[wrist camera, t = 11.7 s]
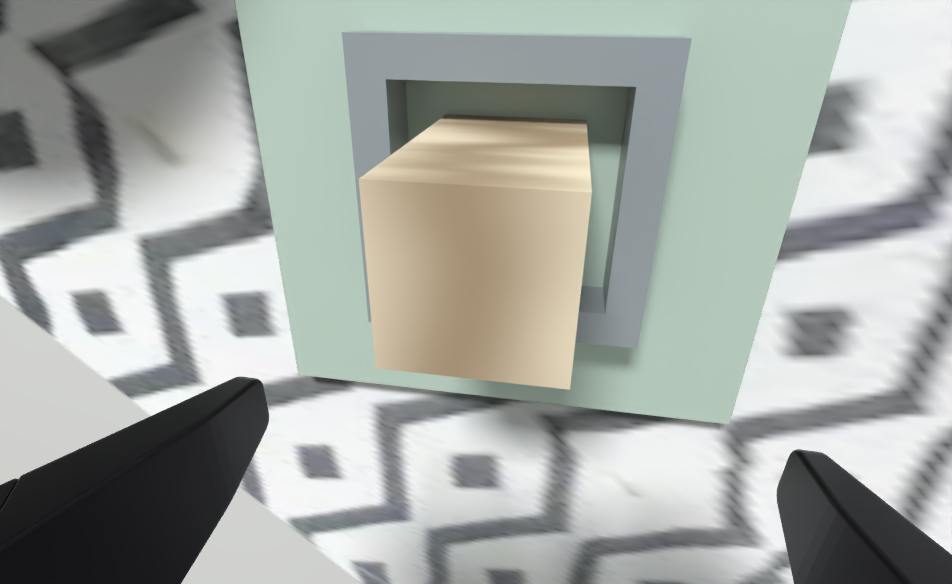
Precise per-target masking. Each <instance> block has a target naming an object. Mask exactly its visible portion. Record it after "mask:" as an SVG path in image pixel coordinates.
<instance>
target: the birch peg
mask: <svg viewBox="0 0 952 584" xmlns="http://www.w3.org/2000/svg"><path fill="white" fill-rule="evenodd" d="M359 189H360V200H361V211H362V222H363V233H364V244H365V255H366V266H367V277H368V288H369V299H370V311H371V322H372V333H373V344H374V355H375V366H376V368H378V369H387V370H396V371H405V372H414V373H423V374H432V375H441V376H450V377H459V378H468V379H477V380H487V381H496V382H505V383H514V384H523V385H532V386H541V387H550V388H559V389H568V390H570V385H571V376H572V367H573V358H574V349H575V340H576V331H577V322H578V313H579V304H580V296H581V287H582V278H583V269H584V260H585V251H586V242H587V233H588V224H589V215H590V206H591V197H592V186H591V173H590V160H589V147H588V134H587V121H586V120H581V119H555V118H529V117H504V116H478V115H452V114H446V115H445V116H443V117H442V118H441V119H439V120H438V121H437V122H435V123H434V124H433V125H431V126H430V127H429V128H427V129H426V130H424V131H423V132H422V133H420V134H419V135H418V136H416V137H415V138H414V139H412V140H411V141H409V142H408V143H407V144H405V145H404V146H403V147H401V148H400V149H399V150H397V151H396V152H394V153H393V154H392V155H390V156H389V157H388V158H386V159H385V160H384V161H382V162H381V163H380V164H378V165H377V166H375V167H374V168H373V169H371V170H370V171H369V172H367V173H366V174H365V175H363V176H362V177H360V178H359Z"/></svg>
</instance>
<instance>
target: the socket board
mask: <svg viewBox="0 0 952 584" xmlns="http://www.w3.org/2000/svg"><path fill="white" fill-rule="evenodd" d="M851 2H852V0H235V5H236V10H237V16H238V22H239V28H240V34H241V40H242V46H243V52H244V57H245V63H246V69H247V75H248V81H249V87H250V93H251V99H252V104H253V110H254V116H255V122H256V128H257V134H258V140H259V146H260V152H261V157H262V163H263V169H264V175H265V181H266V187H267V193H268V199H269V204H270V210H271V216H272V222H273V228H274V234H275V240H276V246H277V251H278V257H279V263H280V269H281V275H282V281H283V287H284V293H285V299H286V304H287V310H288V316H289V322H290V328H291V334H292V340H293V346H294V351H295V357H296V363H297V369H298V375H305V376H314V377H323V378H331V379H340V380H349V381H357V382H366V383H375V384H383V385H392V386H401V387H409V388H418V389H427V390H435V391H444V392H453V393H461V394H470V395H479V396H487V397H496V398H505V399H513V400H522V401H531V402H539V403H548V404H557V405H565V406H574V407H583V408H592V409H600V410H609V411H618V412H626V413H635V414H644V415H652V416H661V417H670V418H678V419H687V420H696V421H704V422H713V423H722V424H729V423H730V419H731V416H732V412H733V409H734V405H735V402H736V398H737V395H738V392H739V388H740V385H741V381H742V378H743V374H744V371H745V367H746V364H747V361H748V357H749V354H750V350H751V347H752V343H753V340H754V336H755V333H756V330H757V326H758V323H759V319H760V316H761V312H762V309H763V305H764V302H765V299H766V295H767V292H768V288H769V285H770V281H771V278H772V274H773V271H774V267H775V264H776V261H777V257H778V254H779V250H780V247H781V243H782V240H783V236H784V233H785V230H786V226H787V223H788V219H789V216H790V212H791V209H792V205H793V202H794V199H795V195H796V192H797V188H798V185H799V181H800V178H801V174H802V171H803V168H804V164H805V161H806V157H807V154H808V150H809V147H810V143H811V140H812V137H813V133H814V130H815V126H816V123H817V119H818V116H819V112H820V109H821V106H822V102H823V99H824V95H825V92H826V88H827V85H828V81H829V78H830V74H831V71H832V68H833V64H834V61H835V57H836V54H837V50H838V47H839V43H840V40H841V37H842V33H843V30H844V26H845V23H846V19H847V16H848V12H849V9H850V6H851ZM446 114H452V115H478V116H504V117H529V118H555V119H581V120H586V121H587V134H588V147H589V160H590V173H591V186H592V197H591V206H590V215H589V224H588V233H587V242H586V251H585V260H584V269H583V278H582V287H581V296H580V304H579V313H578V322H577V331H576V340H575V349H574V358H573V367H572V376H571V385H570V390H568V389H559V388H550V387H541V386H532V385H523V384H514V383H505V382H496V381H487V380H477V379H468V378H459V377H450V376H441V375H432V374H423V373H414V372H405V371H396V370H387V369H378V368H376V366H375V355H374V344H373V333H372V322H371V311H370V299H369V288H368V277H367V266H366V255H365V244H364V233H363V222H362V211H361V200H360V189H359V178H360V177H362V176H363V175H365V174H366V173H367V172H369V171H370V170H371V169H373V168H374V167H375V166H377V165H378V164H380V163H381V162H382V161H384V160H385V159H386V158H388V157H389V156H390V155H392V154H393V153H394V152H396V151H397V150H399V149H400V148H401V147H403V146H404V145H405V144H407V143H408V142H409V141H411V140H412V139H414V138H415V137H416V136H418V135H419V134H420V133H422V132H423V131H424V130H426V129H427V128H429V127H430V126H431V125H433V124H434V123H435V122H437V121H438V120H439V119H441V118H442V117H443V116H445V115H446Z"/></svg>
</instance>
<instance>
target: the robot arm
mask: <svg viewBox="0 0 952 584" xmlns="http://www.w3.org/2000/svg"><path fill="white" fill-rule="evenodd" d="M268 422H269V412H268V407H267V402H266V397H265V392H264V387H263V384H262V382H261V381H260V380H258V379H255V378H248V377H236V378H233V379H231V380H229V381H227V382H225V383H222V384H220V385H218V386H216V387H214V388H212V389H209V390H207V391H205V392H203V393H201V394H198V395H196V396H194V397H192V398H190V399H187V400H185V401H183V402H181V403H179V404H177V405H174V406H172V407H170V408H168V409H166V410H163V411H161V412H159V413H157V414H155V415H153V416H150V417H148V418H146V419H144V420H142V421H139V422H137V423H135V424H133V425H131V426H129V427H126V428H124V429H122V430H120V431H118V432H116V433H113V434H111V435H109V436H107V437H105V438H102V439H100V440H98V441H96V442H94V443H91V444H89V445H87V446H85V447H83V448H81V449H78V450H76V451H74V452H72V453H70V454H67V455H65V456H63V457H61V458H59V459H57V460H54V461H52V462H50V463H48V464H46V465H43V466H41V467H39V468H37V469H35V470H33V471H31V472H28V473H26V474H24V475H22V476H21V477H20V478H19V479H13V480H10V481H8V482H6V483H4V484H2V485H0V584H181V583H182V581H183V579H184V578H185V576H186V574H187V573H188V571H189V570H190V568H191V566H192V565H193V563H194V561H195V560H196V558H197V557H198V555H199V553H200V552H201V550H202V548H203V547H204V545H205V543H206V542H207V540H208V539H209V537H210V535H211V534H212V532H213V530H214V529H215V527H216V526H217V524H218V522H219V521H220V519H221V517H222V516H223V514H224V512H225V511H226V509H227V507H228V506H229V504H230V502H231V500H232V498H233V496H234V495H235V493H236V490H237V489H238V487H239V485H240V483H241V480H242V478H243V476H244V474H245V472H246V470H247V468H248V466H249V464H250V462H251V460H252V458H253V456H254V453H255V451H256V449H257V447H258V445H259V443H260V441H261V439H262V437H263V435H264V433H265V431H266V428H267V426H268ZM777 503H778V508H779V513H780V518H781V523H782V528H783V532H784V537H785V542H786V547H787V552H788V557H789V561H790V566H791V571H792V576H793V581H794V584H952V555H951V554H950V553H949V552H948V551H946V550H945V549H944V548H943V547H941V546H940V545H939V544H937V543H936V542H935V541H934V540H932V539H931V538H930V537H929V536H927V535H926V534H925V533H924V532H922V531H921V530H920V529H919V528H917V527H916V526H915V525H914V524H912V523H911V522H910V521H909V520H907V519H906V518H905V517H904V516H902V515H901V514H900V513H898V512H897V511H896V510H895V509H893V508H892V507H891V506H890V505H888V504H887V503H886V502H885V501H883V500H882V499H881V498H880V497H878V496H877V495H876V494H875V493H873V492H872V491H871V490H870V489H868V488H867V487H866V486H865V485H863V484H862V483H861V482H859V481H858V480H857V479H856V478H854V477H853V476H852V475H851V474H849V473H848V472H847V471H846V470H844V469H843V468H842V467H841V466H839V465H838V464H837V463H836V462H834V461H833V460H832V459H831V458H829V457H828V456H827V455H825V454H823V453H821V452H815V451H807V450H799V449H798V450H794V451H793V452H792V453H791V454H790V456H789V458H788V461H787V463H786V466H785V469H784V471H783V474H782V476H781V479H780V482H779V484H778V488H777Z"/></svg>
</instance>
